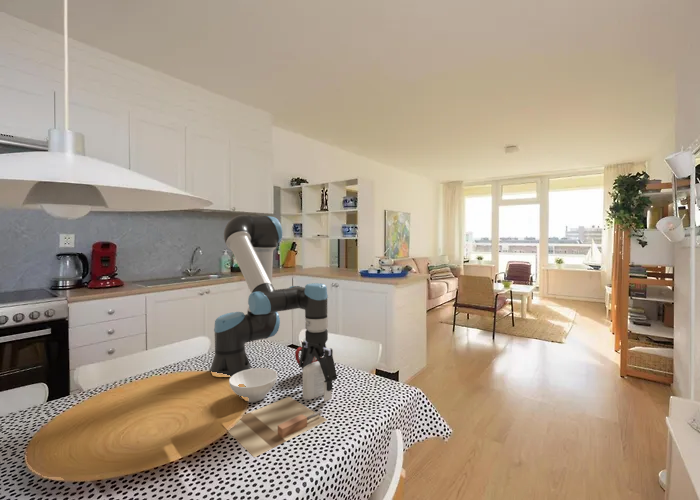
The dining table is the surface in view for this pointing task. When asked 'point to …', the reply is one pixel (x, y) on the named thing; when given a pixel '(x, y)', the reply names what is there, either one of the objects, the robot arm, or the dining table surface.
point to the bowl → (253, 383)
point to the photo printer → (313, 381)
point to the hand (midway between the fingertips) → (317, 393)
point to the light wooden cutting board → (271, 425)
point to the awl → (294, 424)
